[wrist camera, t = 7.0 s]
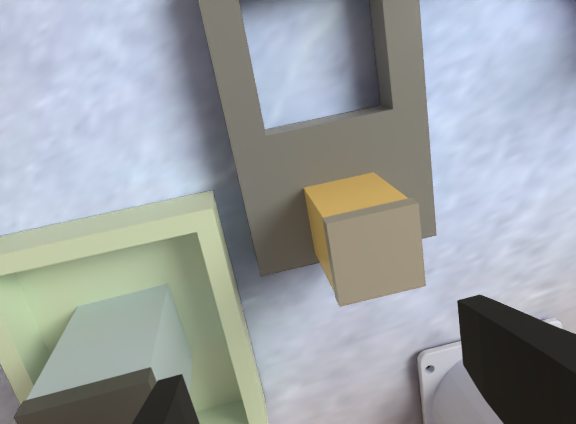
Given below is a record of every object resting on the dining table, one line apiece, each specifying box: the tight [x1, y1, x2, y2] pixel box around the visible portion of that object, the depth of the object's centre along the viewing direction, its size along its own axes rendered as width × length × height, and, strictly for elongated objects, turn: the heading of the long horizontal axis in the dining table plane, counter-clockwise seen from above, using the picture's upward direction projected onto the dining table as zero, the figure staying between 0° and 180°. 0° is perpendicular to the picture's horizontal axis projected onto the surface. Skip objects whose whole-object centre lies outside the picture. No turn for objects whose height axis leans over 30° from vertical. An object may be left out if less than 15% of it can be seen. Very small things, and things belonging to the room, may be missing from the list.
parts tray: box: [0, 190, 269, 424], centre depth 20 cm, size 12×10×2 cm
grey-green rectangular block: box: [14, 284, 193, 424], centre depth 18 cm, size 4×4×7 cm
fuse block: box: [198, 0, 436, 307], centre depth 17 cm, size 12×8×6 cm, turn 10°
